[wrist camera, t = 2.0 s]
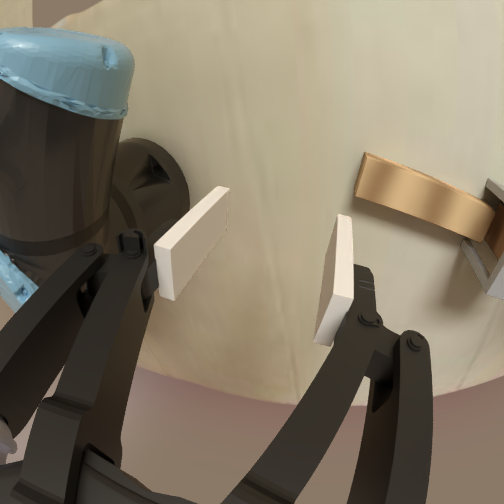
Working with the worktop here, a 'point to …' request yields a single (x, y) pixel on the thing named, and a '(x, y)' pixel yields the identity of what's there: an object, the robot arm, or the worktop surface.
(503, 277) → the tunnel
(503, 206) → the block
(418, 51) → the worktop surface
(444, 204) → the tan long bar
